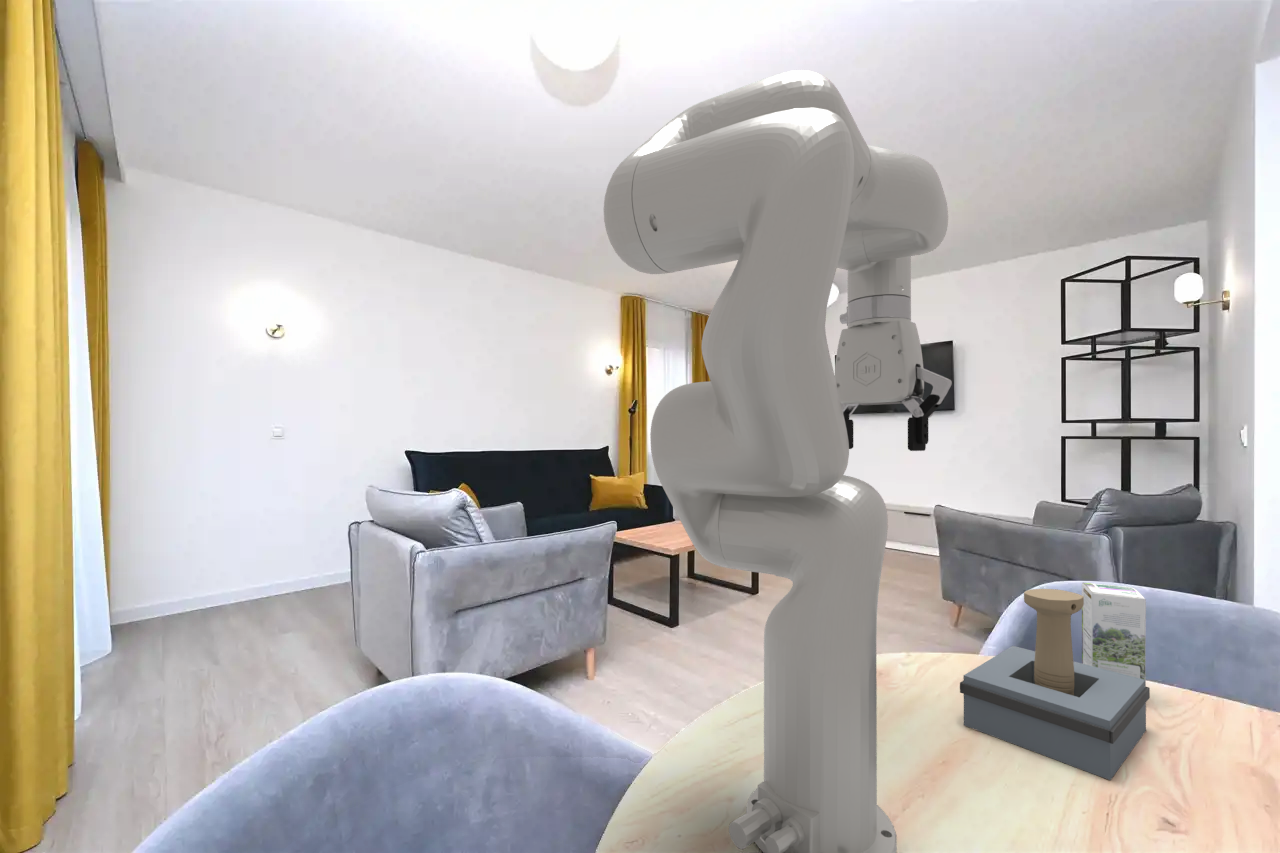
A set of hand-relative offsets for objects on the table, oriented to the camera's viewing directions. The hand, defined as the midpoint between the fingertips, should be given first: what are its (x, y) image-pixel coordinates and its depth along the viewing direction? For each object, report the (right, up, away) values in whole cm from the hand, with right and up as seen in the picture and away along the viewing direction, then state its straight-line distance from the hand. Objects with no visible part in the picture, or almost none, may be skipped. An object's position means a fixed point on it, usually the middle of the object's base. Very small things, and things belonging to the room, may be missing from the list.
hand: (878, 449), depth 73 cm
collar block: (+19, -33, -4) cm, 39 cm away
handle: (+19, -33, -4) cm, 38 cm away
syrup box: (+34, -34, +5) cm, 48 cm away
